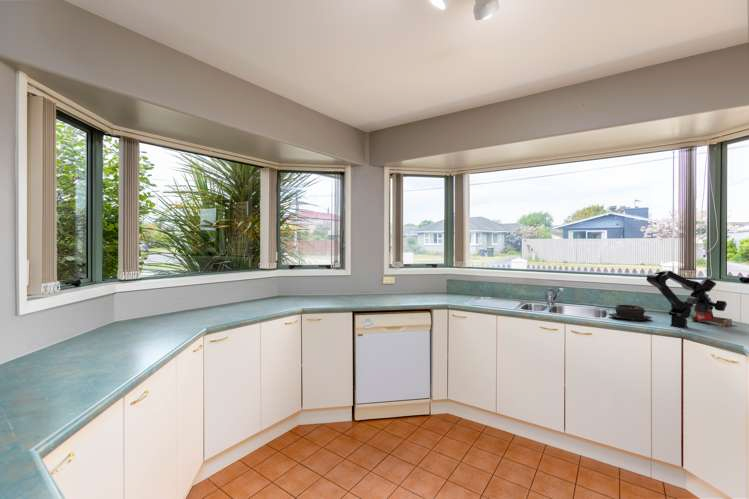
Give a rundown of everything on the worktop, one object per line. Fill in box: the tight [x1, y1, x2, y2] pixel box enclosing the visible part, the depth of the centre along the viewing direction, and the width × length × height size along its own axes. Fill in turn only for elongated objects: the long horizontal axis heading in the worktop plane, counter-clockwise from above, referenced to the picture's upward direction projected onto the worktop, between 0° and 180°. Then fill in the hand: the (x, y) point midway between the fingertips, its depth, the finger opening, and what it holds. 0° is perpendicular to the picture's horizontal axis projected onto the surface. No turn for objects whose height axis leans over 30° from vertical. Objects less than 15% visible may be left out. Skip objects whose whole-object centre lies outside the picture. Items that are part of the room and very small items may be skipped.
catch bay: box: [691, 314, 733, 328], centre depth 223 cm, size 12×16×4 cm
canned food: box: [693, 304, 715, 323], centre depth 225 cm, size 8×8×11 cm
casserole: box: [608, 304, 653, 321], centre depth 236 cm, size 25×19×8 cm
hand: (709, 312), depth 221 cm, fingers closed
